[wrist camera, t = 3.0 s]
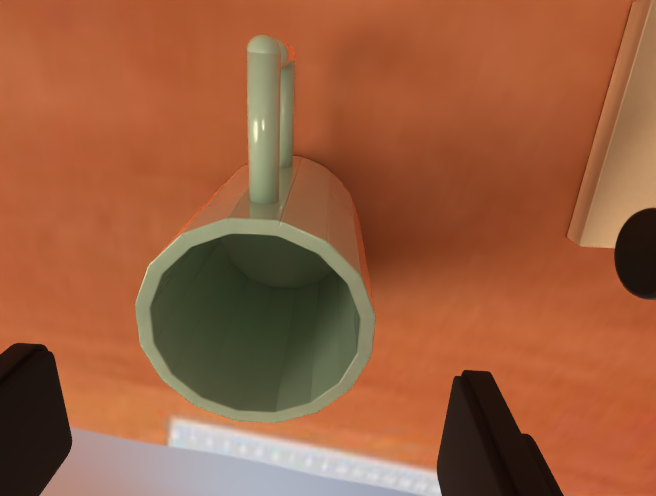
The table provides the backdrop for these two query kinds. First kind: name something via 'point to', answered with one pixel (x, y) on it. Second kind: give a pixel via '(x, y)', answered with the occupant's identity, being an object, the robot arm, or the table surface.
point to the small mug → (263, 275)
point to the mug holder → (625, 162)
